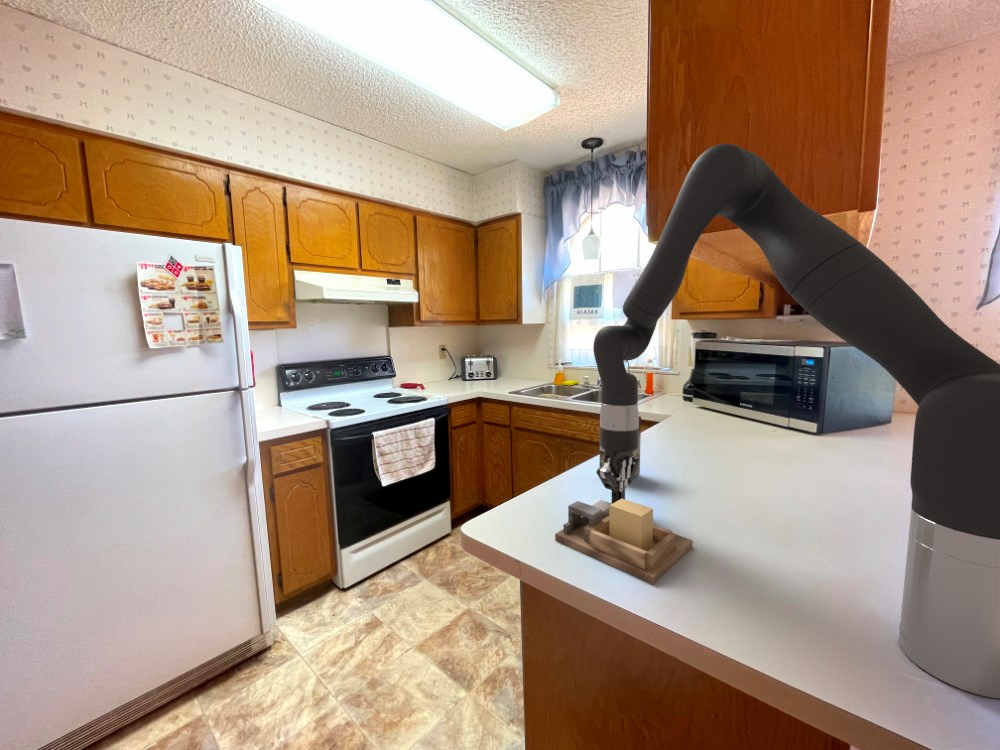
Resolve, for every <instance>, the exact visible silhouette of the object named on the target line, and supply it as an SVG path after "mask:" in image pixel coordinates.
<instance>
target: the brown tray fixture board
mask: <svg viewBox="0 0 1000 750" xmlns="http://www.w3.org/2000/svg"><path fill="white" fill-rule="evenodd" d="M567 508H568V509H567V511H568V512H567V513H568V514H567V515H568V519H567V520H568V521H567V522H566V523H564V524H562V525H563V528H562V529H561V530H559V531H557V532H556V533H554V538H555V539H554V540H555V541H557V542H559V543H561V544H563V545H565V546H568V547H570V548H572V549H575V550H576V551H578V552H581V553H583V554H585V555H587V556H590V557H592V558H594V559H596V560H599V561H601V562H603V563H605V564H608V565H610V566H611V567H614V568H616V569H618V570H621V571H622V572H624V573H627V574H629V575H632V576H634V577H635V578H636V577H637V578H638V579H640V580H642V581H645V582H647V583H648V584H651V585H655V584H656V582H658V581H659V580H660V579H661V578H662V577H663V576H664V575H665V574H666V573H667V572H668V571H669V570H670V569H671V568H672V567H673V566H674V565H675V564H676V563H677V562H678V561H679V560H680V559H682V558H683V557H684V555H686V554H687V553H688V552H689V551H690V550H691V549H692V548H693V545H694V544H693V542H694V541H693V540H692V539H689V538H686V537H684V536H682V535H678V534H677V533H674V532H673V531H672V530H670V529H666V528H664V527H662V526H658V525H656V524H653V547H652V548H651V549H650V550H649V551H645V550H643V549H640V548H637V547H635V546H632V545H630V544H627V543H625V542H622V541H620V540H617V539H615V538H612V537H610V536H609V516H607V517H606V518H604V519H603V520H602V509H599V508H597V507H594V506H592V505H591V504H587V503H584V502H582V501H579V500H577V501H575V502H573V503H571V504H569V505H568V507H567ZM587 518H589V523H587Z"/></svg>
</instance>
